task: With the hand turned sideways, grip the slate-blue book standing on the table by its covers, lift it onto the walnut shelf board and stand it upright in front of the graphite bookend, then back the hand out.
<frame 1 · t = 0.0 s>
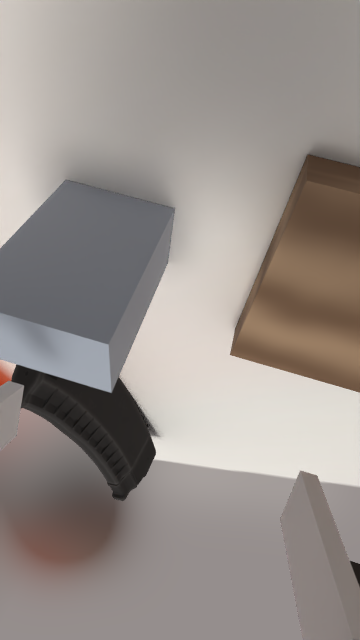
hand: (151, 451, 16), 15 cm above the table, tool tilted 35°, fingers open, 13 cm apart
magazine: (115, 382, 46), on the table
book: (120, 223, 26), on the table
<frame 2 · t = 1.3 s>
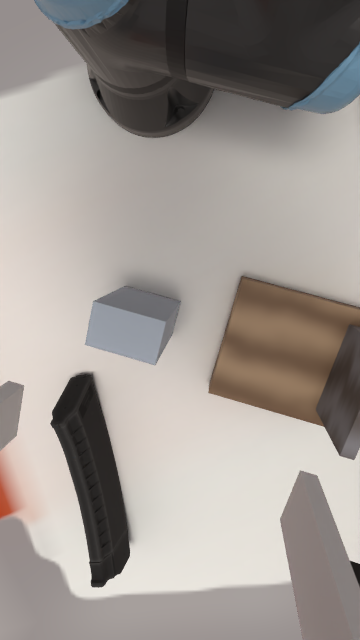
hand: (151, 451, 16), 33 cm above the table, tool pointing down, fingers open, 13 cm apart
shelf: (281, 348, 47), on the table
magazine: (106, 460, 55), on the table
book: (148, 310, 48), on the table
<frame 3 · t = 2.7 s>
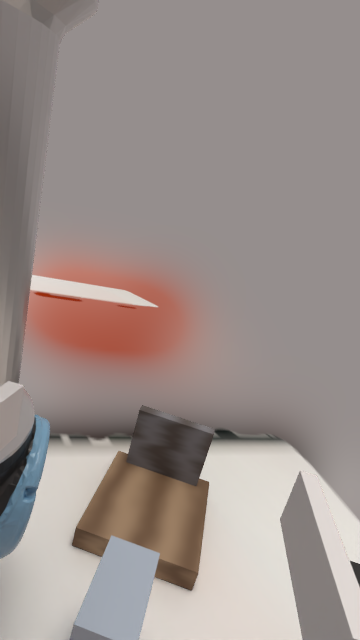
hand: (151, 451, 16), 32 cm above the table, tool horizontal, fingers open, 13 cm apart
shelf: (147, 517, 51), on the table
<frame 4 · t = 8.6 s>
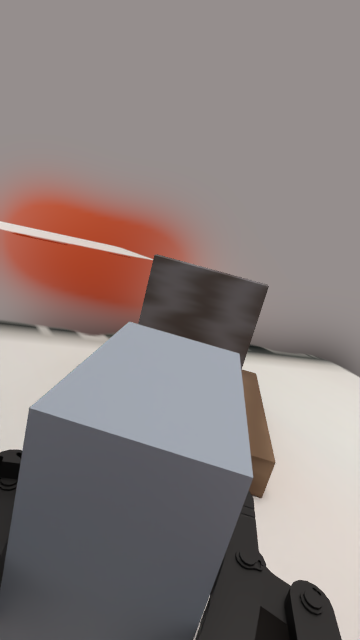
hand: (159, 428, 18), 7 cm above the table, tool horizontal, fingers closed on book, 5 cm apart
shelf: (170, 410, 33), on the table
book: (98, 631, 14), on the table, touching gripper
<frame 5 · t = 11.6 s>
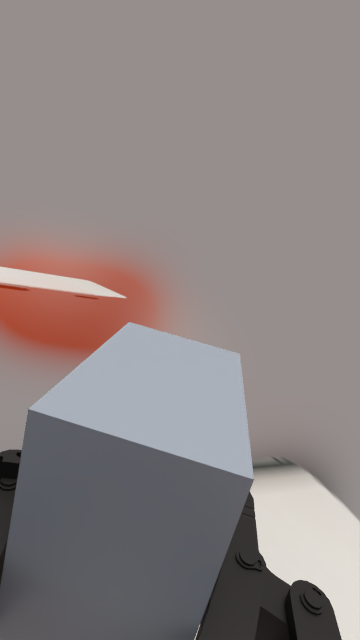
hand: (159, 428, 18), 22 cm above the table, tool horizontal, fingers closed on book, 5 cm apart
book: (98, 633, 14), point 15 cm above the table, touching gripper
when the fingers open (11 cm above the table, at t = 14.9 s): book drops 1 cm, resting on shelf.
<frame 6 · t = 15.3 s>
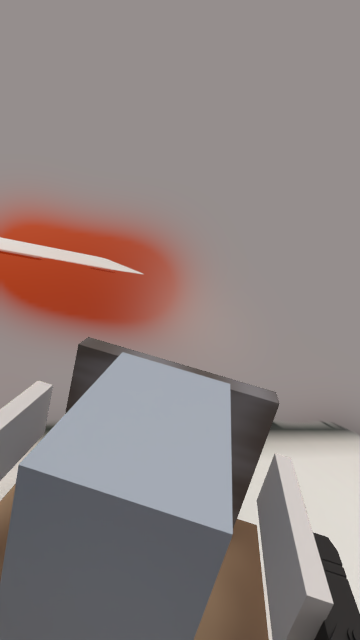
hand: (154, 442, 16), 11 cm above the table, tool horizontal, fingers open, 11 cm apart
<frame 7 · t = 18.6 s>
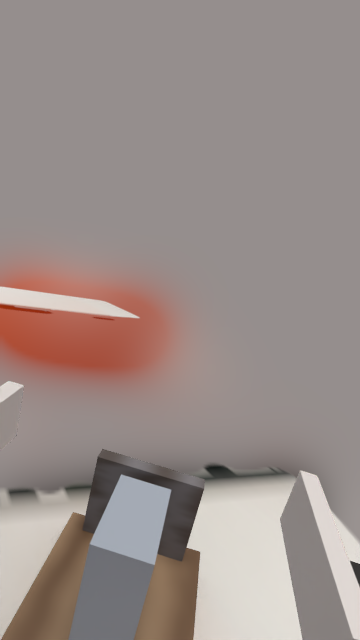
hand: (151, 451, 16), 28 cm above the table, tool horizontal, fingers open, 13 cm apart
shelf: (109, 619, 35), on the table
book: (108, 619, 32), point 3 cm above the table, touching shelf
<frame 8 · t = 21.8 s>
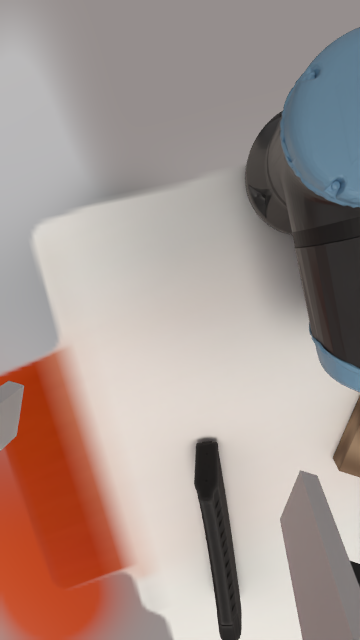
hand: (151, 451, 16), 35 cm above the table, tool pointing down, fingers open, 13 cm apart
magazine: (220, 518, 58), on the table
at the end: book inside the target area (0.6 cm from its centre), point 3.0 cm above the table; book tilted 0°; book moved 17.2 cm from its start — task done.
